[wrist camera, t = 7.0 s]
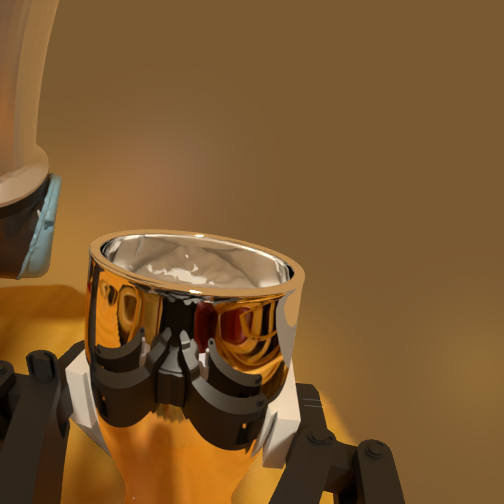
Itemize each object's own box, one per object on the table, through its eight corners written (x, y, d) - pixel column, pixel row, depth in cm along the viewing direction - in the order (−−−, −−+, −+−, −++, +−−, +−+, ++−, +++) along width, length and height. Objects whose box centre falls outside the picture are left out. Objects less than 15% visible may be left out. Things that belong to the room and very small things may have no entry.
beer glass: (175, 453, 17) (194, 225, 14) (263, 510, 14) (343, 268, 11) (92, 501, 12) (47, 233, 8) (185, 582, 8) (207, 328, 5)
